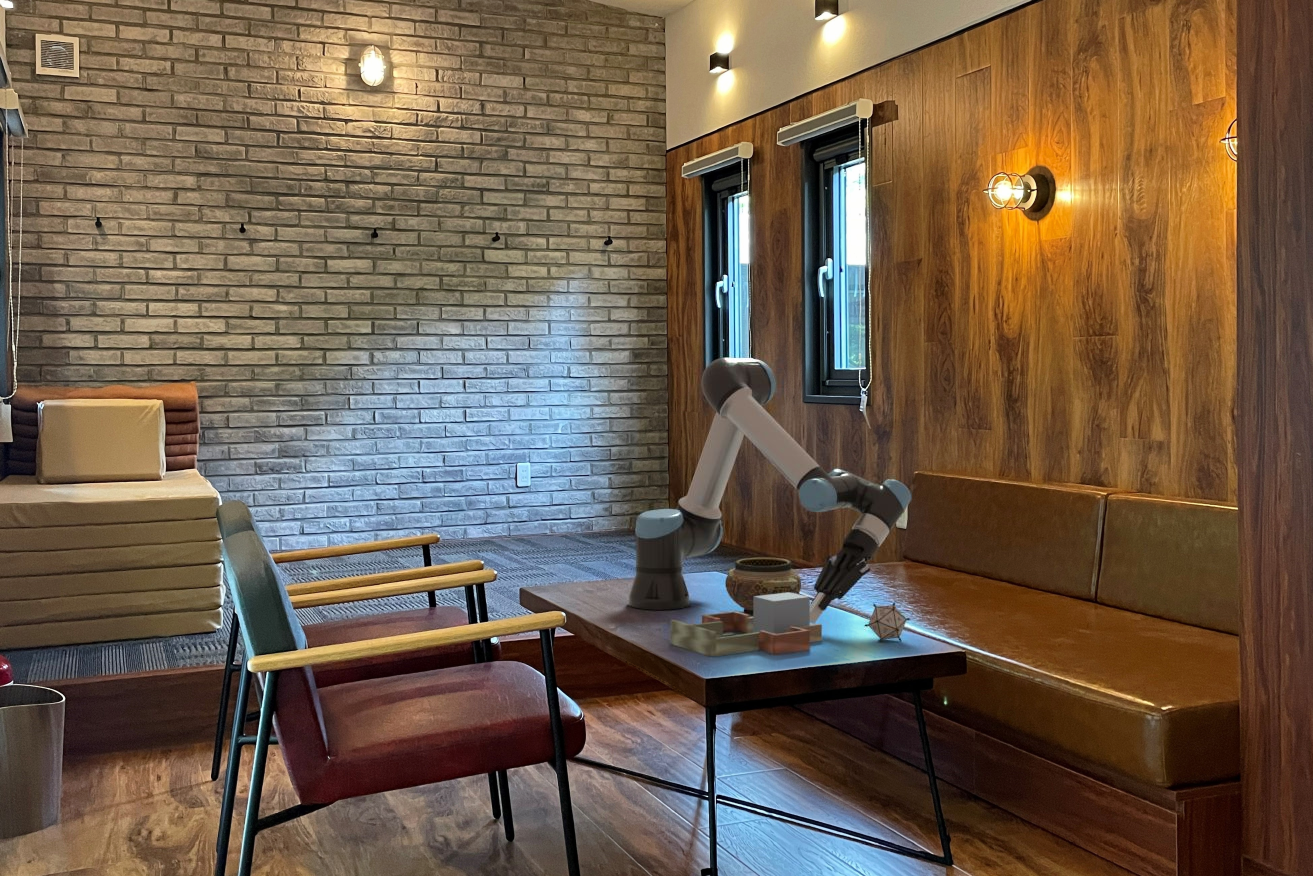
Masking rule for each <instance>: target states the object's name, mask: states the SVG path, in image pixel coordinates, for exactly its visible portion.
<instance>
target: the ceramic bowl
mask: <svg viewBox="0 0 1313 876" xmlns="http://www.w3.org/2000/svg"><path fill="white" fill-rule="evenodd" d="M734 564H735V567H734V568H731V569H730V570H729V571H728V572H727V576H726V578H725V583H724V584H725V589H726V592H727V594H728V596H729V597H730V599H732V601H733V602H734V603H735V604H736V605H738V606H739V607H741V608H743V613H744V614H748V615H749V617H753V598H754V596H762V595H771V594H779V593H788V592H790V593H795V594H799V595H800V592H801V588H802V580H801V578H800V575H799V574H798V573H797V571H795V570H794V569H793V568H792V561H791V560H790V559H787V558H781V557H780V558H779V557H770V556H769V557H768V556H767V557H766V556H765V557H764V556H763V557H762V556H761V557H746V558H741V559H740V558H739V559H737V560H736V561H735V562H734Z"/></svg>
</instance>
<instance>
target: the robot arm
mask: <svg viewBox="0 0 1313 876" xmlns="http://www.w3.org/2000/svg"><path fill="white" fill-rule="evenodd" d="M701 376H702V377H701V382H700V384H701V385H700V386H701V390H702V394H703V396H704V398H705V399H706V401H707V402H708V404H709V405H710V406H711V408H712V409H713V410H714V411H715V415H714V417H713V420H712V423H711V426H710V429H709V432H708V435H707V438H706V441H705V443H704V445H703V449H702V451H701V454H700V458H699V460H698V463H697V466H696V468H695V472H694V475H693V478H692V480H691V483H690V486H689V489H688V492H687V494H686V495H685V496H683V497H681V498H680V499H679V500H678V502H677V506H676V508H675V509H673V508H661V509H660V508H659V509H653V510H652V509H651V510H647V511H644V512H642V513H640V514H639V515H638V516H637V518H636V522H635V529H634V531H635V532H634V533H635V576H634V579H633V582H632V586H631V588H630V592H629V596H628V605H629V606H630V607H632V608H634V609H635V608H636V609H641V610H650V611H651V610H655V611H658V610H659V611H661V610H662V611H663V610H666V611H667V610H677V609H683V608H686V607H688V606H690V594H689V590H688V588H687V584H686V582H685V579H684V576H683V575H684V574H683V559H688V558H699V557H703V556H706V555H707V554H710V553H712V552H713V551H714V550H715V549H716V548H717V547H718V546H719V545H720V542H721V541H722V537H723V533H724V527H723V526H722V520H721V519H722V511H721V510H720V508H719V507H720V504H721V501H722V498H723V495H724V492H725V490H726V487H727V484H728V481H729V478H730V475H731V472H732V470H733V467H734V465H735V462H736V460H737V456H738V453H739V450H740V448H741V445H742V442H743V439H744V436H745V437H746V438H747V439H748V440H749V441H750V442H751V443H752V444H753V445H754V447H756V448H757V449H758V451H759V452H760V453H761V454H762V455H764V457H765V458H766V459H767V460H768V461H769V462H770V463H771V464H772V465H773V466H774V467H775V468H776V470H778V471H779V472H780V474H782V476H784V478H785V479H786V480H788V482H789V483H790V484H791V486H793V487H794V489H796V490H797V491H798V498H799V501H800V504H801V506H803V508H804V509H806V510H807V511H810V512H813V513H825V512H826V513H827V512H829V511H832V510H839V509H845V508H846V509H847V508H849V509H852V510H854V511H857V512H858V513H861V514H860V516H859V517H858V519H857V520H856V521H855V523H854V524H853V525H852V529H850V530H849V531H848V533H847V534H846V536H845V537H844V539H843V540H842V548H841V549H840V550H839V551H838V552H836V554H835V555H834V556H831V555H829V554H827V555H826V556H825V560H824V561H825V562H824V565H823V567H822V569H821V571H820V572H819V575H818V577H817V579H816V581H815V583H814V586H813V589H814V590H815V592H816V595H815V596H814V597H813V598H812V600H811V601H810V624H815V623H816V622H817V621H818V619H819V618H820V616H821V615H822V614H823V612H824V611H826V610H827V608H828V607H829V606H830V603H831V602H832V601H834V600H835V599H838V600H842V599H843V597H845V596H846V595H847V594H848V592H850V590H851V589H852V588H853V587H854V586H855V584H857V583H858V581H859V580H860V579H862V577H864V576H866V574H868V573H869V572H871V568H870V566H868V564H867V562H869V561H871V560H872V559H873V558H874V556H875V555H876V553H877V551H878V550H879V547H881V545H882V544H883V542H884V541H885V540H886V538H887V537H888V535H889V534H890V532H891V531H892V529H893V528H894V526H895V525H896V523H897V522H898V520H899V519H900V518H901V517H902V515H903V514H904V513H905V511H906V509H907V507H908V506H909V504H910V502H911V501H912V494H911V491H910V489H909V488H908V487H907V486H906V485H905V484H904V483H902V482H901V481H900V480H899V481H898V480H896V479H890V478H889V479H886V480H885V481H884V482H883V483H882V484H881V485H880V484H878V483H875V482H872V481H869V480H867V479H865V478H863V477H861V476H858V475H856V474H853V473H851V472H850V471H847V470H846V471H845V470H843V469H839V468H834V469H832V470H831V471H830V472H829V473H827V472H826V471H825V470H824V469H823V468H822V467H821V466H820V465H819V464H818V462H816V461H815V460H814V459H813V458H812V457H811V456H810V455H809V453H808V452H806V451H805V449H804V448H803V447H802V446H801V445H800V444H799V443H798V442H797V441H796V440H795V439H794V438H793V437H792V436H791V435H790V434H789V433H788V432H787V431H786V430H785V429H784V428H783V427H782V426H781V425H780V424H779V422H777V421H776V419H774V417H772V416H771V415H770V413H769V412H768V411H767V410H766V409H765V408H764V407H763V406H764V405H766V404H767V403H769V402H770V401H771V399H772V398H773V397H774V395H775V392H776V387H777V386H776V385H777V384H776V378H775V375H774V371H773V370H772V369H771V367H770V366H769V365H768V364H767V363H766V362H764V361H762V360H760V359H754V358H752V357H746V358H743V357H742V358H741V357H740V358H739V357H736V358H735V357H719V358H717V359H714V360H713V361H712V362H711V363H709V364H708V365H707V366H706V368H705V369H704V371H703V373H702V375H701Z"/></svg>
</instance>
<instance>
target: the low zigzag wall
mask: <svg viewBox="0 0 1313 876" xmlns="http://www.w3.org/2000/svg"><path fill="white" fill-rule="evenodd" d="M822 628H823V625H822V624H821V623H816V624H814V623H812V624H810V625H806V626H799V627H794V626H790V627H789V628H786V633H780V634H775V633H771V632H767V631H764V630H761V631H759V632H755V633H753V617H751V616H749V615H748V614H744V612H740V611H736V610H735V611H733V610H731V611H724V612H716V613H708V614H702V615H701V623H695V624H691V623H686V622H683V621H681V620H680V621H679V620H676V619H671V620H670V645H673V646H676V647H679V648H683V649H687V650H689V651H692V652H696V653H698V654H701V655H704V656H707V657H710V658H714V657H720V656H728V655H735V654H739V653H740V654H741V653H747V652H748V653H749V652H754V651H761V652H765V653H769V654H771V655H785V654H790V653H796V652H804V651H810V647H811V646H810V645H811V644H810V643H815V642H820V641H821V642H822V639H823V637H822V636H823V633H822V632H823V630H822Z"/></svg>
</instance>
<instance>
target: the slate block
mask: <svg viewBox="0 0 1313 876" xmlns="http://www.w3.org/2000/svg"><path fill="white" fill-rule="evenodd" d="M810 599H811V597H810V596H807V595H803V594H800V593H799V594H795V593H790V592H788V593H779V594H771V595H762V596H754V598H753V633H755V632H759V631H761V630H764V631H767V632H771V633H775V634H780V633H786V628H789V627H790V626H794V627H799V626H806V625H811V623H810V605H811V600H810Z"/></svg>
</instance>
